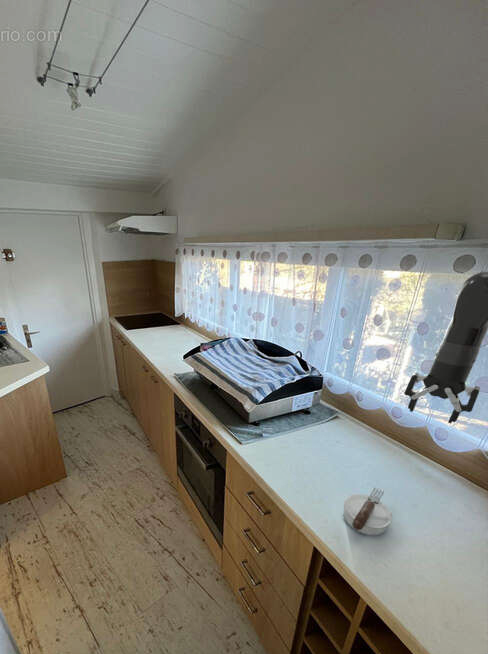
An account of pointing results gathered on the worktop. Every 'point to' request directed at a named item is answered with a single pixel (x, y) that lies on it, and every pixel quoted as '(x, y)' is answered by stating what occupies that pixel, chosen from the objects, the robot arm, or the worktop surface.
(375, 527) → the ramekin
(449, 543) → the worktop surface
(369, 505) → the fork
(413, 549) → the worktop surface
